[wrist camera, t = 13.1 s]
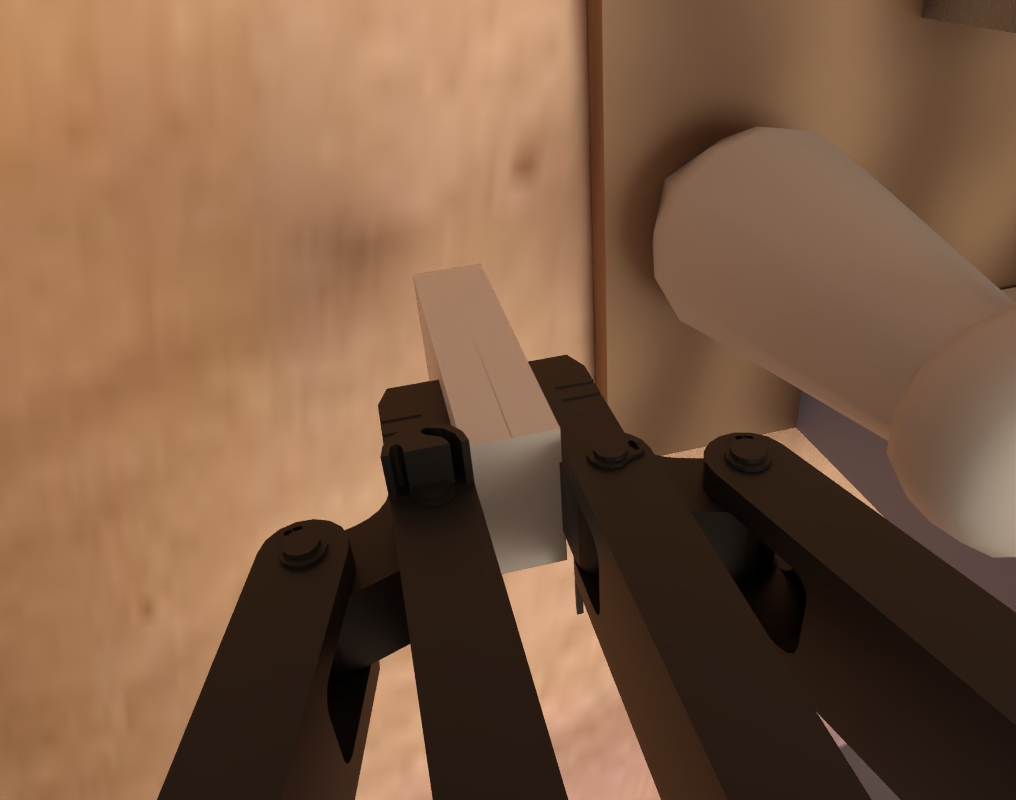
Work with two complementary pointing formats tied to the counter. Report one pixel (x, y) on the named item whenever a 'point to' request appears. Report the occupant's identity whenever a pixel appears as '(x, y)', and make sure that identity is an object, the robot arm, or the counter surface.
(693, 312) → the salt shaker
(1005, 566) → the book block
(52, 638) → the counter surface
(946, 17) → the bookend
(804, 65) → the wooden l-bracket
